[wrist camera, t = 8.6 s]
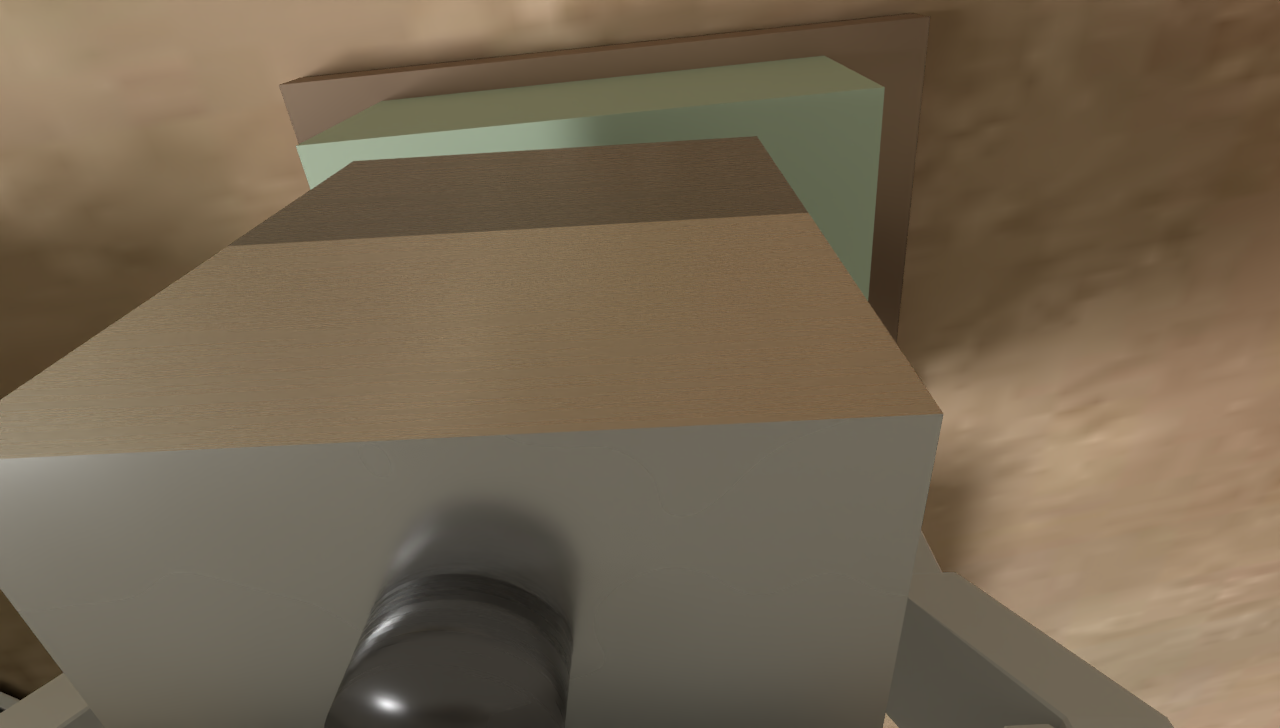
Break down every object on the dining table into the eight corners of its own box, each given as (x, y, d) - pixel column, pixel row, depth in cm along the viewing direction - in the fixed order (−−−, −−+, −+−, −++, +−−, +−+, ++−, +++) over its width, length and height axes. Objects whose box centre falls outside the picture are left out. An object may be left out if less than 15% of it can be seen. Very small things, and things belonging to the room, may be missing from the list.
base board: (850, 684, 25) (858, 709, 24) (501, 702, 26) (496, 728, 25) (913, 13, 14) (930, 16, 13) (300, 77, 15) (278, 85, 14)
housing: (757, 135, 8) (1000, 500, 3) (745, 630, 13) (826, 1159, 7) (353, 161, 9) (-230, 555, 3) (480, 640, 13) (355, 1165, 7)
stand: (811, 425, 18) (849, 534, 15) (476, 449, 19) (437, 561, 15) (824, 55, 14) (884, 87, 10) (381, 101, 14) (295, 145, 11)
